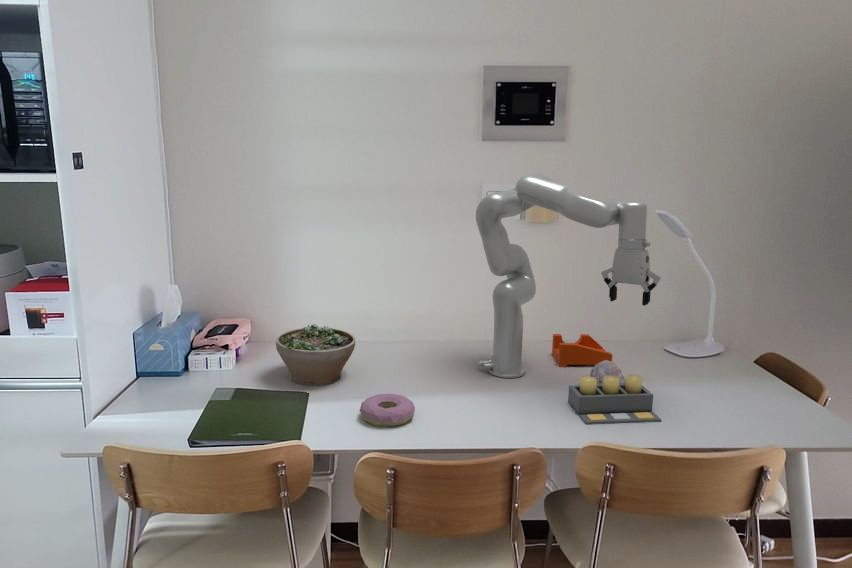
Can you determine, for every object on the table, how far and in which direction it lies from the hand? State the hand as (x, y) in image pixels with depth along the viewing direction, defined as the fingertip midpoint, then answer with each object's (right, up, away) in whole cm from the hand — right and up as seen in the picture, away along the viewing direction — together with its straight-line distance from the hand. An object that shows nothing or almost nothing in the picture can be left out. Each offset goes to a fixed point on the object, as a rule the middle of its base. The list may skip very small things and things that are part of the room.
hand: (629, 302), depth 196 cm
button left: (-13, -27, -2) cm, 30 cm away
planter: (-95, -25, +21) cm, 100 cm away
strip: (-5, -33, -8) cm, 34 cm away
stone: (-1, -27, +19) cm, 33 cm away
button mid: (-6, -27, -1) cm, 27 cm away
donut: (-70, -32, -9) cm, 78 cm away
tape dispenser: (-5, -22, +40) cm, 46 cm away
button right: (+1, -27, 0) cm, 27 cm away
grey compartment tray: (-6, -31, 0) cm, 31 cm away
